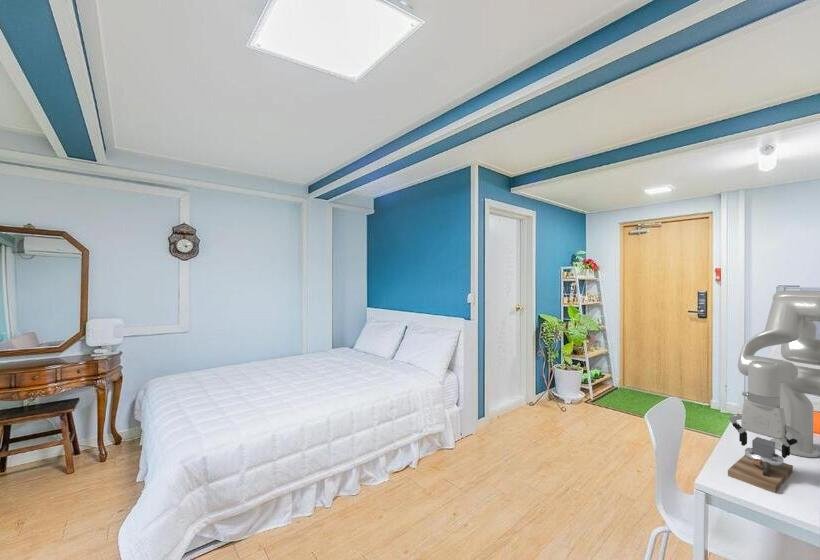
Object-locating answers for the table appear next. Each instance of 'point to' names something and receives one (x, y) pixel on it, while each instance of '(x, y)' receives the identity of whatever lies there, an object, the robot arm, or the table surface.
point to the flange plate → (772, 463)
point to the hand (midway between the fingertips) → (763, 450)
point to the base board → (760, 474)
